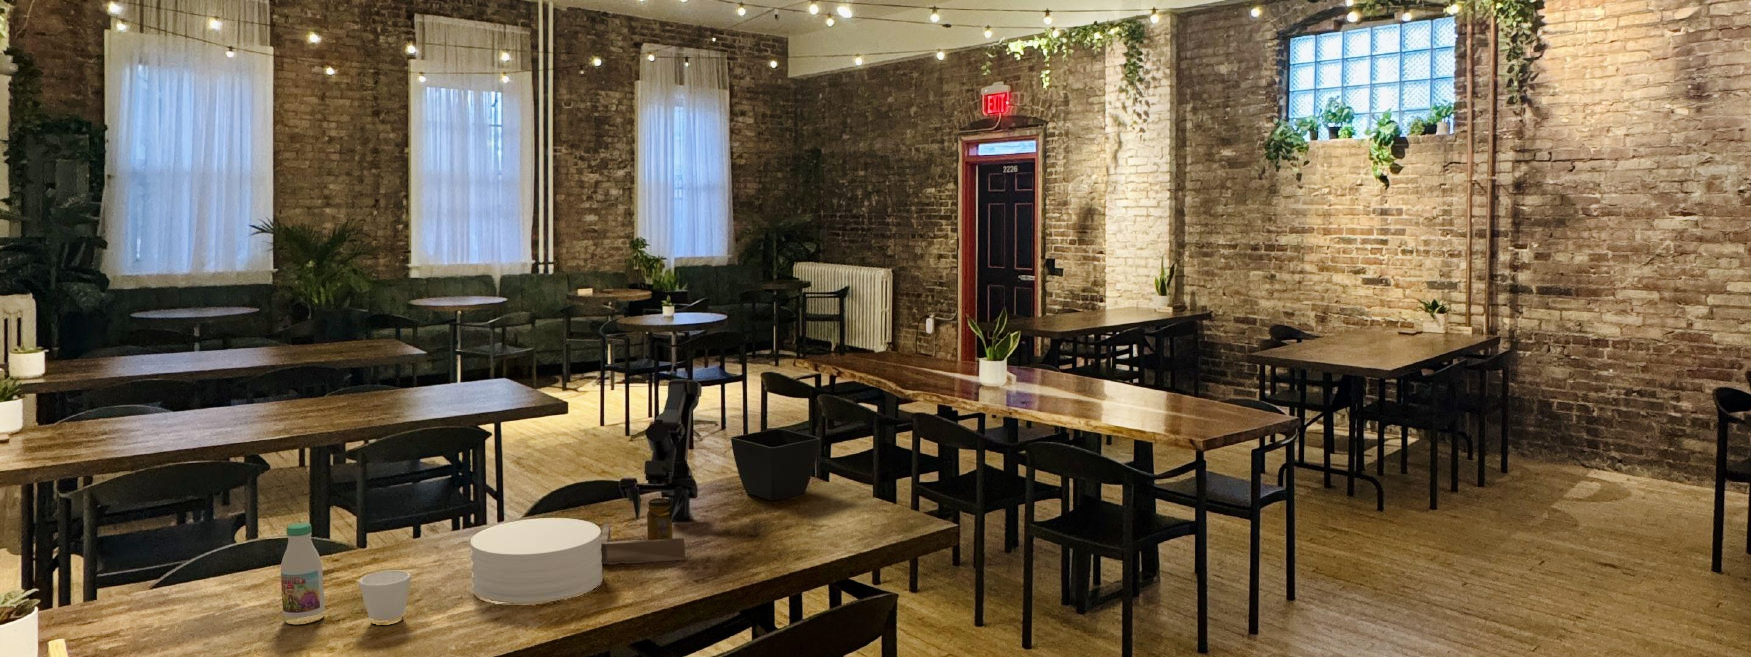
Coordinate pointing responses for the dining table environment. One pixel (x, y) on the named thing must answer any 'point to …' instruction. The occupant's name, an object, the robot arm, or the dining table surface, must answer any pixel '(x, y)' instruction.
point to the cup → (385, 593)
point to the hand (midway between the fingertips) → (653, 518)
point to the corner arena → (640, 549)
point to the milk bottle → (301, 574)
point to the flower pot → (775, 462)
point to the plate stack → (536, 560)
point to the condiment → (659, 519)
